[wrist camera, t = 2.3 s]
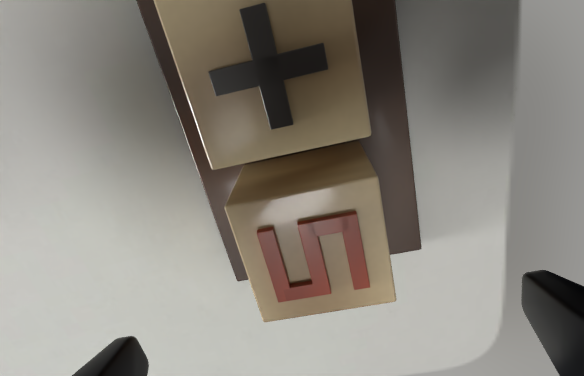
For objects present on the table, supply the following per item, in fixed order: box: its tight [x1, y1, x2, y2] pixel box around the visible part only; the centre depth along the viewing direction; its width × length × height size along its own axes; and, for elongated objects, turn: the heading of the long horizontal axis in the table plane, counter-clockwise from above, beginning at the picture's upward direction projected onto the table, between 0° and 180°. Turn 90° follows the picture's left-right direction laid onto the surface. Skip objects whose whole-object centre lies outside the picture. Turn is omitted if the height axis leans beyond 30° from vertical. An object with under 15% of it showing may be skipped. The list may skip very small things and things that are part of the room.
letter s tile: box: [225, 141, 396, 322], centre depth 12 cm, size 4×4×4 cm
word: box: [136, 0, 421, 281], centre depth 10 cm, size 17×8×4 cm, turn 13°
